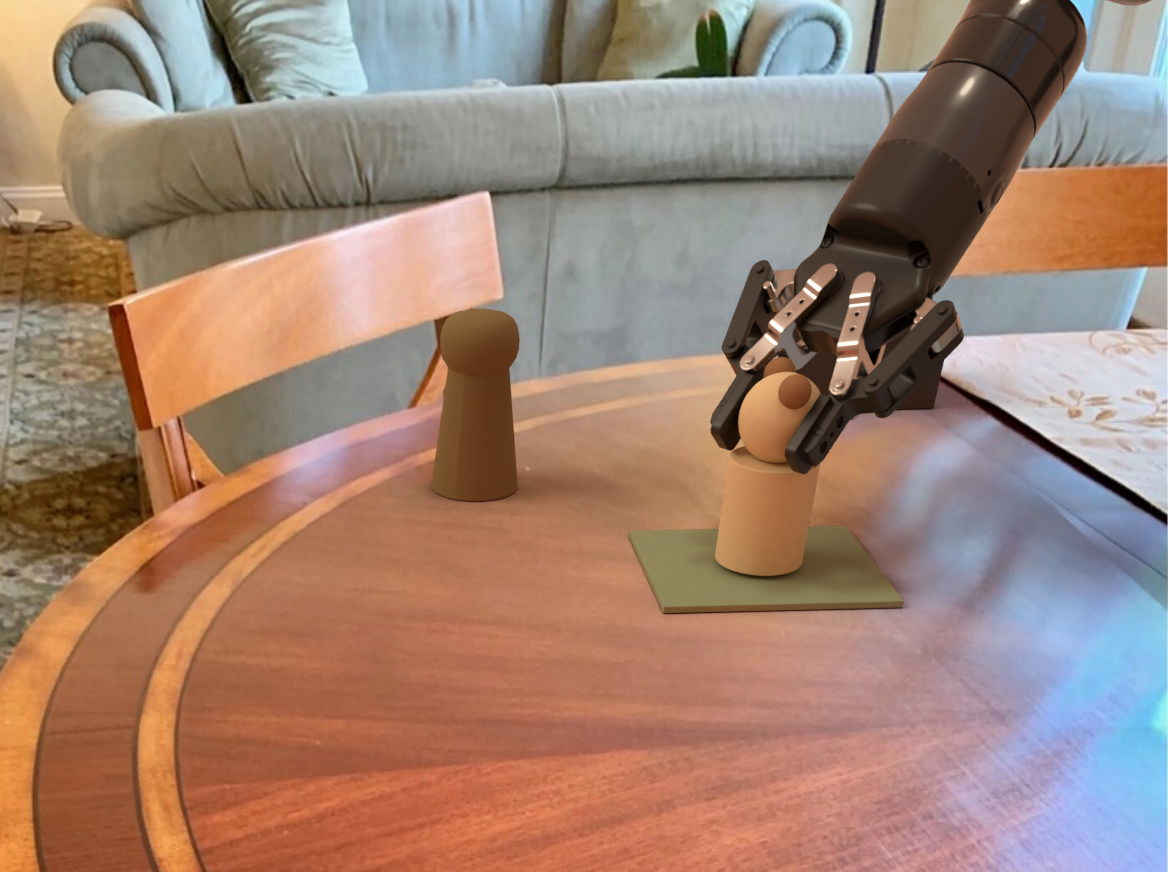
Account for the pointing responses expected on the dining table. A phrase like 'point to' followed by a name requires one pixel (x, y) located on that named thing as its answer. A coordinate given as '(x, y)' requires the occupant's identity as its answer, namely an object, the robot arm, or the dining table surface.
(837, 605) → the mat
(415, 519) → the dining table surface
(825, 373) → the brown u-shaped bridge
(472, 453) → the brown pepper mill
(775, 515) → the toy bear
